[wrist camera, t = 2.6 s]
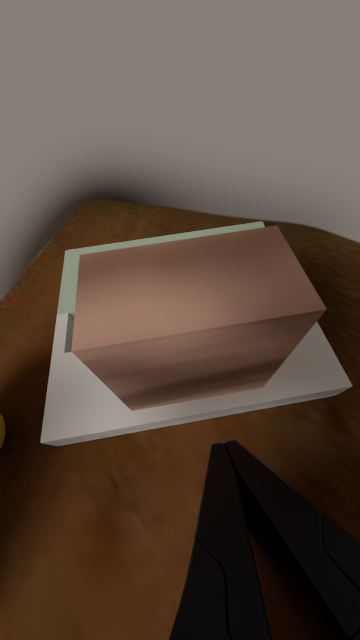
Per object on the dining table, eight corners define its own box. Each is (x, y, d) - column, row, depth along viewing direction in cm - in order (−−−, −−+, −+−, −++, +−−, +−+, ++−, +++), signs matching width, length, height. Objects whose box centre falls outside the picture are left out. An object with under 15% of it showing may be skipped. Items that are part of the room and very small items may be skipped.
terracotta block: (262, 387, 18) (326, 309, 9) (131, 411, 17) (71, 351, 9) (242, 328, 20) (277, 225, 12) (128, 347, 20) (79, 254, 11)
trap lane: (335, 395, 19) (352, 386, 17) (57, 446, 18) (40, 443, 16) (257, 239, 30) (262, 221, 27) (75, 266, 29) (65, 250, 26)
